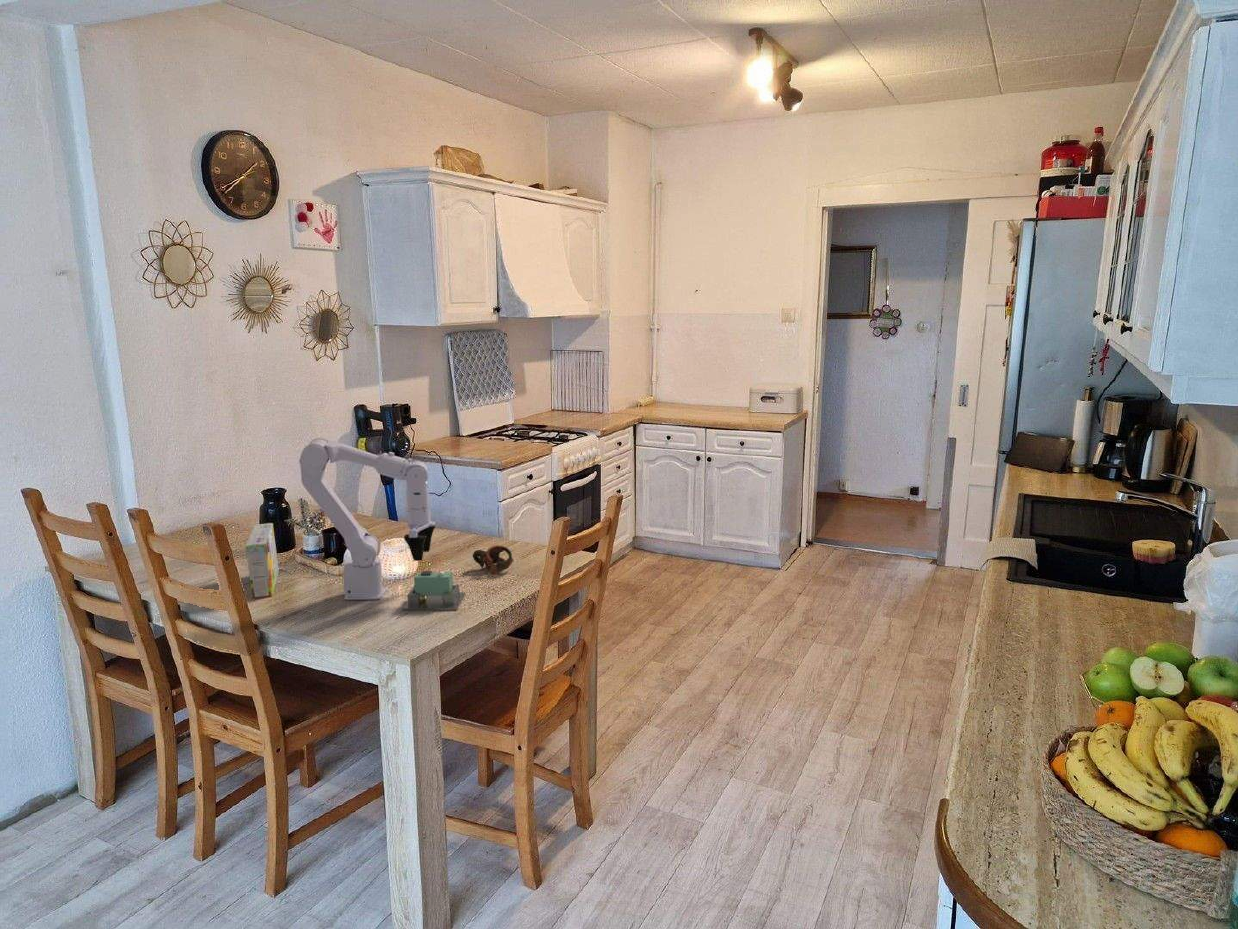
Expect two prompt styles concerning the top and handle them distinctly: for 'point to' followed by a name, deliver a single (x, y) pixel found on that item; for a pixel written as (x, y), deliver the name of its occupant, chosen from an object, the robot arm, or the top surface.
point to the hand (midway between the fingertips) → (421, 555)
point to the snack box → (262, 560)
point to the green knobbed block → (433, 583)
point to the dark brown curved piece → (493, 559)
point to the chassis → (434, 601)
